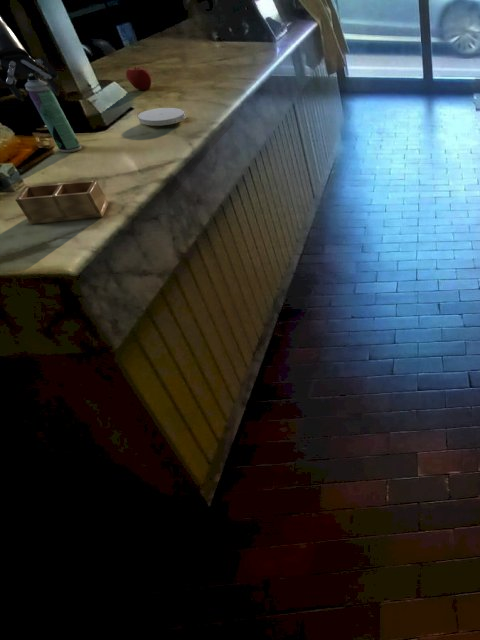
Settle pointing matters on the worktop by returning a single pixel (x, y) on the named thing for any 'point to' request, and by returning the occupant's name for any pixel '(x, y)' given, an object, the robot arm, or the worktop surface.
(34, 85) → the spray can
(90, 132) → the worktop surface
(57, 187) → the box
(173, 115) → the plastic lid
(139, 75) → the apple
